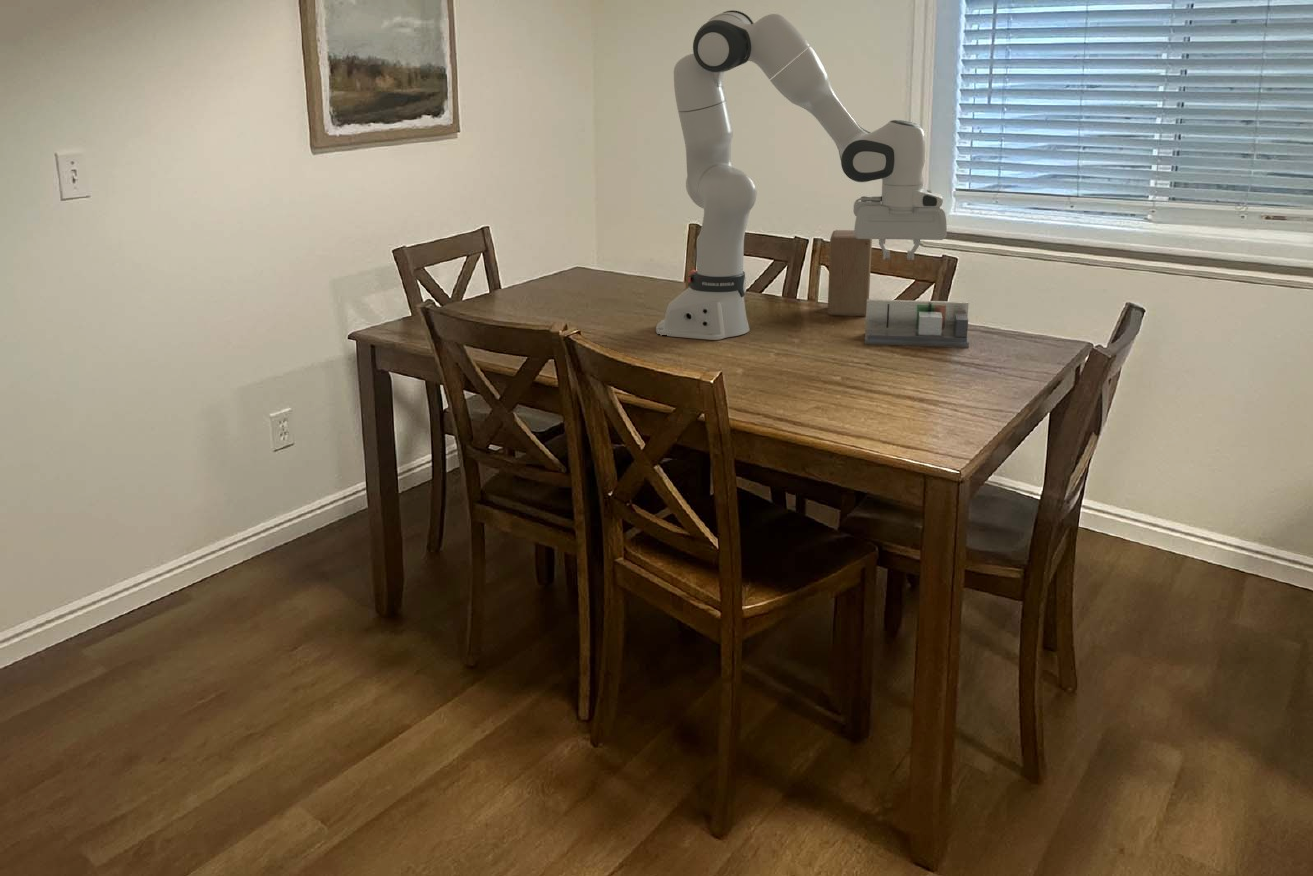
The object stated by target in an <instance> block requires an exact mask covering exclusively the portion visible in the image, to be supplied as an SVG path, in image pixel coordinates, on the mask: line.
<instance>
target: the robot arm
mask: <svg viewBox="0 0 1313 876" xmlns="http://www.w3.org/2000/svg"><path fill="white" fill-rule="evenodd" d="M692 52H693V53H690V54H688V55H685V56H684V57H681V59H679V60H678V61H677V62H676V64H675V65H674V68H673V87H674V96H675V102H676V108H677V113H678V116H679V122H680V126H681V131H682V134H683V141H684V145H685V156H686V179H685V189H686V192H687V194H688V196H689V198H690V200H691V201H692V202H693V203H694V204H695V205H696V206H698V207H699V208H700V209H703V217H702V223H701V224H702V225H701V227H700V228H701V229H700V231H699V235H697V238H696V270H695V269H692V270H690V272H689V273H688V275H687V276H688V277H687V278H688V279H687V283H688V288H686V289H685V290H684V291H682V292H681V293H679V295H677V296H676V297H675V298H674V299H672V300H671V301H670V302H669V304H668V305H667V307H666V311H665V316H664V319H662V320H660V321H659V322H658V323H657V325H656V326H655V332H656V334H657V335H658V334H660V335H659V336H662V335H667V336H666V337H676V338H687V339H698V340H709V341H710V340H711V341H712V340H713V341H719V340H722V339H725V338H730V337H731V338H732V337H737V336H741V335H744V334H747V333H748V332H750V330H751V329H750V325H749V322H748V317H747V312H746V303H745V294H746V287H747V286H746V283H747V282H746V272H745V270H744V248H745V235H746V230H747V226H748V225H747V224H748V222H749V216H750V211H751V210H752V209H753V207H754V206H755V203H756V199H757V195H758V193H757V188H756V185H755V182H754V181H753V180H752V179H751V177H750V176H748V174H747V173H745V172H744V171H743V170H740V169H738V168H735V167H734V166H733V163H732V157H731V156H732V155H731V153H732V152H731V149H732V147H731V146H732V144H731V143H732V140H733V137H734V135H733V134H734V133H733V127H732V122H731V117H730V116H731V115H730V113H729V112H730V111H729V108H728V102H727V97H726V94H725V93H726V92H725V89H724V81H723V79H724V78H723V77H724V73H725V72H728V71H730V70H733V69H734V68H736V67H737V68H738V67H739V66H742V65H744V64H746V63H747V62H752V63H754V64H755V65H757V66H758V67H759V68H760V69H761V71H762V73H764V74H765V76H766V77H767V79H768V80H769V81H770V82H771V84H772V85H773V86H774V87H775V89H776V90H777V91H778V92H779V93H780V94H781V95H782V96H783V97H784V98H785V99H786V100H788V101H789V102H790V103H791V104H792V105H796V106H798V107H800V108H802V109H804V110H806V111H807V112H809V113H810V114H811V115H812V116H813V117H814V118H815V119H816V121H818V123H819V124H820V125H821V127H822V128H823V129H824V130H825V132H826V133H827V134H828V136H829V137H830V138H831V140H833V142H834V144H835V145H836V147H837V150H838V154H839V159H840V165H841V169H842V171H843V173H844V174H845V176H846V177H847V178H849V179H850V180H852V181H854V182H857V183H868V182H873V181H877V180H881V181H882V182H881V195H880V196H879V195H877V196H861V197H860V198H857V199H856V200H855V201H854V202H853V214H854V216H855V221H854V222H855V223H854V229H853V230H854V235H855V237H856V238H857V239H872V240H878V245H879V247H880V249H881V250H882V252H883V253H882V255H883V256H882V260H891V250H890V249H888V250H887V248H886V246H885V244H886V240H913V241H912V242H913V247H912V248H911V250H907V251H906V252H907V255H906V259H907V260H908V261H909V260H915V252H916V251H917V250H918V248H919V247H920V245H921V240H922V241H924V240H925V241H943V240H944V239H945V238H946V237H947V233H948V231H947V230H948V229H947V227H948V226H947V225H948V224H947V215H946V211H945V210H944V207H943V206H942V205H943V203H944V197H943V196H942V194H940V193H938V192H935V191H932V190H929V189H926V188H924V178H923V168H924V165H925V161H926V160H925V159H926V137H925V132H924V130H923V128H922V127H921V126H920V125H919V124H917V123H915V122H912V121H907V120H901V119H892V120H890V121H888V123H886V124H885V125H883V126H882V127H881V126H880V128H878V129H875V130H874V131H872V132H871V131H868V130H866V129H865V128H862V127H861V126H860V125H859V124H858V122H857V121H856V120H855V119H854V118H853V116H852V115H851V114H850V113H849V111H848V110H847V109H846V107H845V106H844V105H843V104H842V102H841V101H840V100H839V98H838V97H837V95H836V93H835V92H834V89H833V87H832V84H831V81H830V78H829V75H828V73H827V71H826V68H825V65H823V63H822V61H821V59H820V57H819V56H818V54H817V53H816V51H815V50H814V48H813V47H812V45H810V43H809V42H808V41H807V39H806V38H805V37H804V36H803V34H801V32H800V31H799V30H798V29H797V28H796V27H795V26H794V25H793V24H792V23H791V22H789V21H788V20H787V19H786V18H785V16H783V15H780V14H779V13H769V14H767V15H764V16H763V17H761V18H760V19H758V20H757V21H755V22H754V21H753V19H752V18H751V17H750V16H748V14H746V13H744V12H743V11H739V10H734V9H733V10H726V11H723V12H722V13H718V14H716V15H714V16H712V17H711V18H710V19H709V20H708V21H707V22H705V23H704V24H702V25H701V26H700V27H699V29H698V30H697V32H696V34H695V35H694V39H693V43H692Z"/></svg>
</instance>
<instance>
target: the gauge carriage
mask: <svg viewBox="0 0 1313 876" xmlns="http://www.w3.org/2000/svg"><path fill="white" fill-rule="evenodd" d="M931 307H932V304H929V310H928V312H919V319H918V336H939V337H941V331H942V313H941V312H931Z"/></svg>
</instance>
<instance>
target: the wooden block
mask: <svg viewBox="0 0 1313 876" xmlns="http://www.w3.org/2000/svg"><path fill="white" fill-rule="evenodd" d="M872 244H873V239H857V238H856V237H855V235H854V229H853V230H850V229H848V230H847V229H843V230H841V229H836V230H833V231H832V233H831V236H830V239H829V263H828V264H829V265H828V266H829V267H828V288H827V290H828V292H827V293H828V294H827V314H828V315H831V316H841V317H842V316H844V317H845V316H847V317H848V316H849V317H854V316H855V317H866V309H867V299H870V288H871V287H870V285H871V267H872V265H871V264H872V246H873V245H872Z"/></svg>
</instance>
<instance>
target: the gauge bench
mask: <svg viewBox="0 0 1313 876" xmlns="http://www.w3.org/2000/svg"><path fill="white" fill-rule="evenodd" d="M929 304H932V307H931V312H941V313H942V331H941V337H939V336H918V319H919V312H928V310H929ZM969 305H970V303H969V301H950V300H949V301H947V300H946V301H945V300H944V301H943V300H908V299H907V300H905V299H904V300H902V299H870V298H869V299H867V309H866V316H865V334H864V338H865V339H864V345H873V346H874V345H875V346H876V345H879V346H905V347H906V346H907V347H909V346H910V347H935V348H937V347H939V348H940V347H943V348H967V349H968V348H969V347H970V341H969V338H968V329H969V318H968V316H969Z"/></svg>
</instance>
